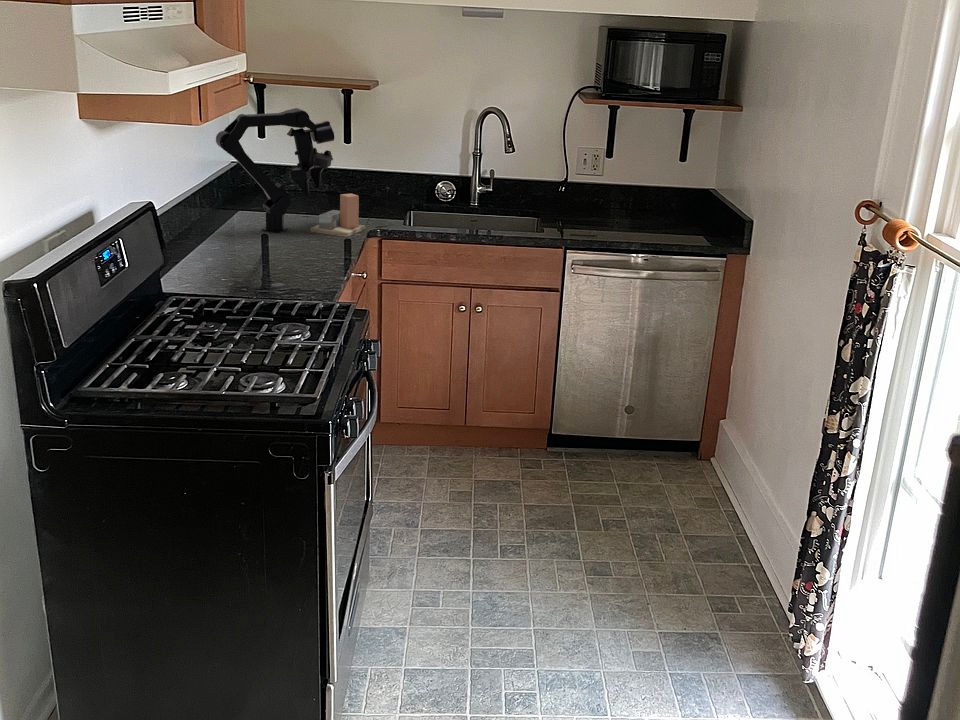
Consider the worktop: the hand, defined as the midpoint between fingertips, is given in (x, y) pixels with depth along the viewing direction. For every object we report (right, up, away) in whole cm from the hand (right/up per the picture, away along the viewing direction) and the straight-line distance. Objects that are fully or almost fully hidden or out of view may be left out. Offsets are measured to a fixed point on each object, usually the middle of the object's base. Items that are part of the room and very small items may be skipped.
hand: (313, 191), depth 320 cm
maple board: (+8, -13, +4) cm, 16 cm away
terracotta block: (+12, -11, +5) cm, 17 cm away
